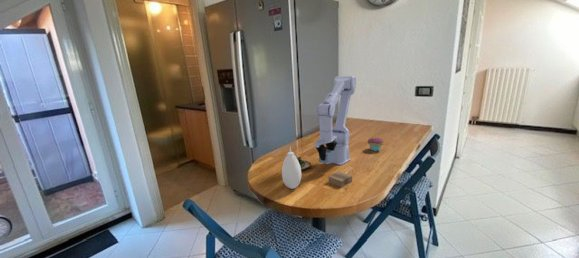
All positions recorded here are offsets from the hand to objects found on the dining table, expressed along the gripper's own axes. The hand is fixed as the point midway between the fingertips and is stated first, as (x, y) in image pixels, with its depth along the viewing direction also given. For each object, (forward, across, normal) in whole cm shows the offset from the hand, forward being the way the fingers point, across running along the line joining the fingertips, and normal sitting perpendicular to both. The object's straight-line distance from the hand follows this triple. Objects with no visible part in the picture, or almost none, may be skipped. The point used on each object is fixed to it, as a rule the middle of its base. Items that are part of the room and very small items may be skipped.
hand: (326, 158), depth 117 cm
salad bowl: (+7, +4, -14) cm, 16 cm away
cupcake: (+7, -42, +3) cm, 43 cm away
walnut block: (+7, +5, +11) cm, 14 cm away
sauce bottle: (+7, +22, -1) cm, 23 cm away
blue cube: (+2, 0, 0) cm, 2 cm away
